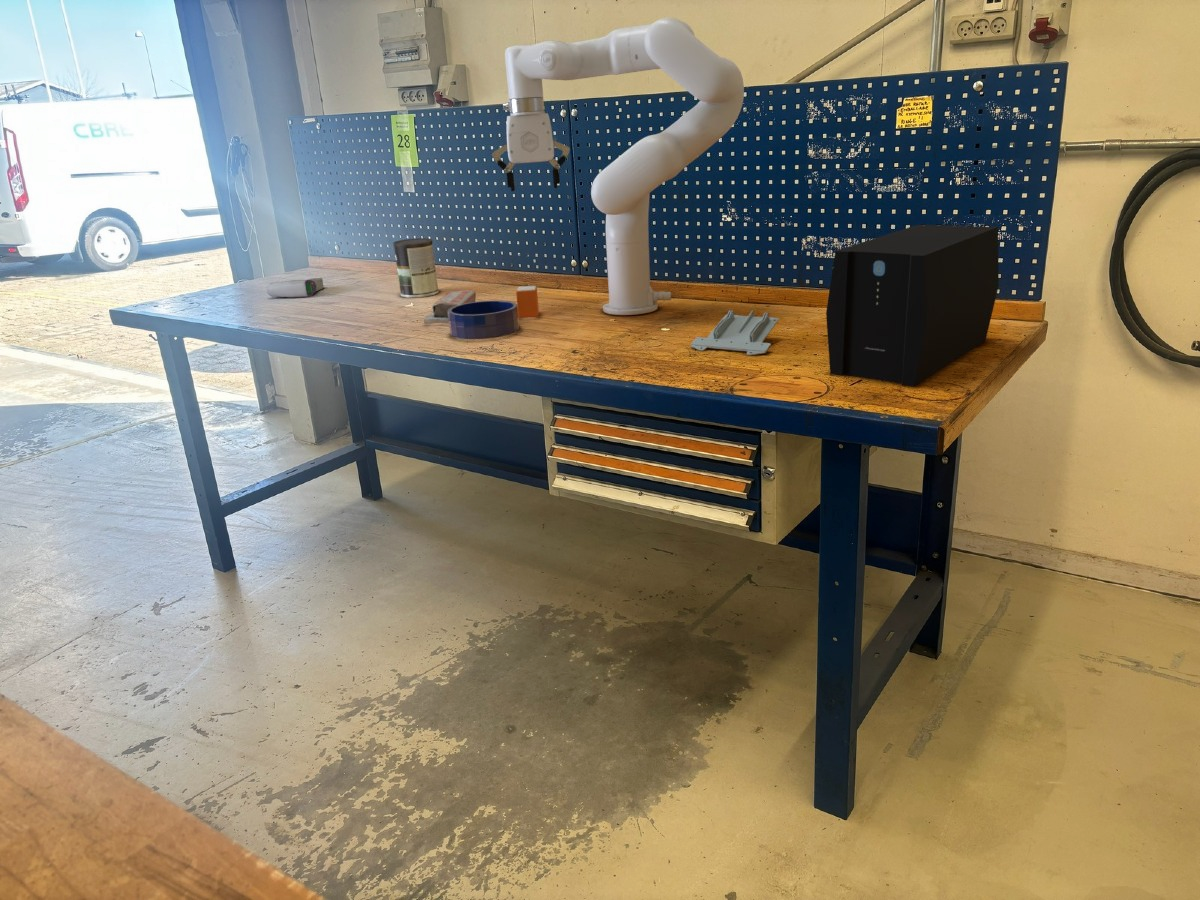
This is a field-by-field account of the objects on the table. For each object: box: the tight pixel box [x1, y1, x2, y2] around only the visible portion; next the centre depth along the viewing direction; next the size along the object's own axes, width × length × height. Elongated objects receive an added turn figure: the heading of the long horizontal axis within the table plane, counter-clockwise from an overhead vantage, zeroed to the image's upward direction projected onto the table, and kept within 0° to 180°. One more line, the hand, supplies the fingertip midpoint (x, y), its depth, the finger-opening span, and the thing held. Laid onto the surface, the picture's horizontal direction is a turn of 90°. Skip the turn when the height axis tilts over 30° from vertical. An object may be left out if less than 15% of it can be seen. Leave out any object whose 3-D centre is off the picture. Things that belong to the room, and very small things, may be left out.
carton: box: [515, 285, 540, 319], centre depth 193 cm, size 4×5×7 cm
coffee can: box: [392, 237, 439, 299], centre depth 227 cm, size 10×10×14 cm
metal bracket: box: [690, 309, 780, 356], centre depth 161 cm, size 14×6×15 cm
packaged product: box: [423, 289, 477, 324], centre depth 199 cm, size 18×5×10 cm
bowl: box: [448, 300, 520, 340], centre depth 181 cm, size 15×15×6 cm
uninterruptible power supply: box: [825, 224, 1000, 387], centre depth 144 cm, size 16×34×20 cm, turn 139°
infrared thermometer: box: [266, 277, 324, 298], centre depth 241 cm, size 5×12×15 cm
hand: (534, 189), depth 192 cm, fingers open, 9 cm apart
